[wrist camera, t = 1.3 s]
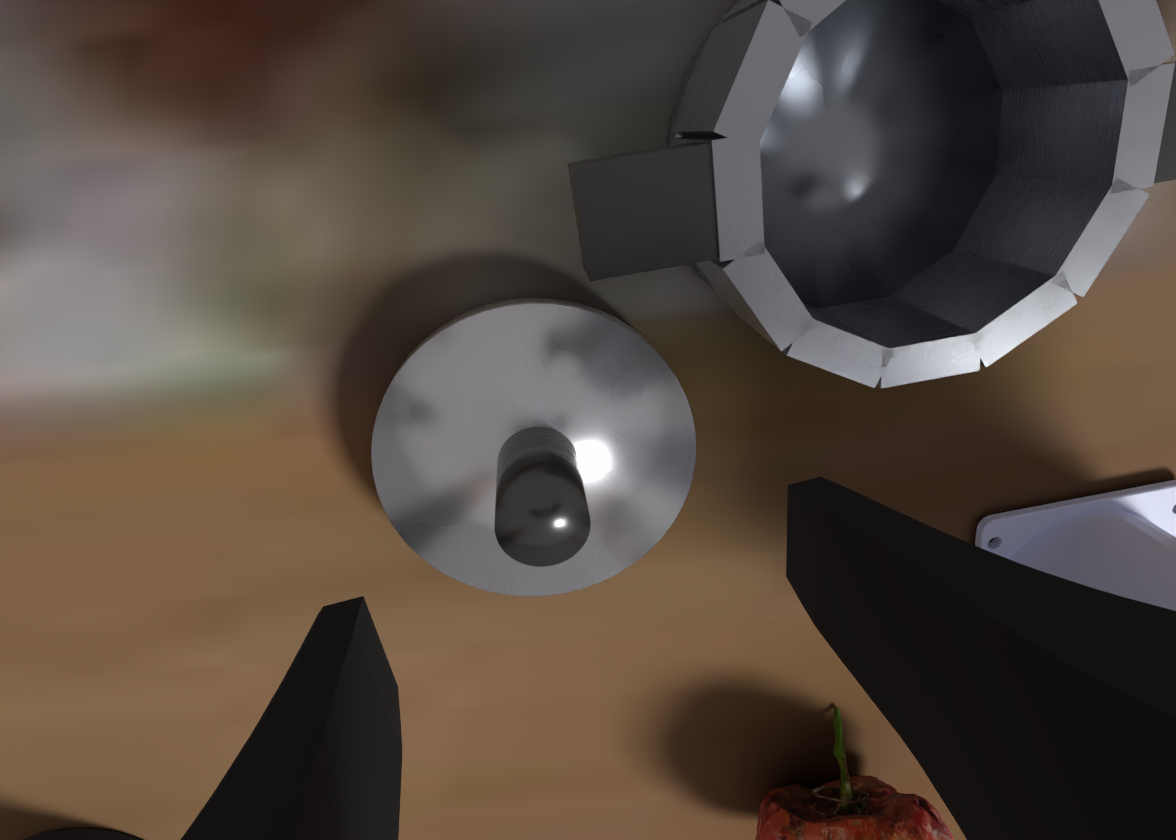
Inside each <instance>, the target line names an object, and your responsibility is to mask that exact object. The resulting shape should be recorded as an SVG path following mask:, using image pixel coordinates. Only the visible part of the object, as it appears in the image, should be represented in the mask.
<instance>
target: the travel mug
mask: <svg viewBox="0 0 1176 840" xmlns="http://www.w3.org/2000/svg"><path fill="white" fill-rule="evenodd" d="M27 840H140V839H138V838H135V837H133V836H130V835H126V834H123V833H119V832H114V831H109V830H102V829H91V828H72V829H62V830H56V831H51V832H46V833H43V834H40V835H37V836H34V837H32V838H29V839H27Z"/></svg>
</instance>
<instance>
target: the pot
mask: <svg viewBox="0 0 1176 840" xmlns="http://www.w3.org/2000/svg"><path fill="white" fill-rule="evenodd" d="M1173 55H1174V51H1173V48H1172V45H1171V42H1170V39H1169V36H1168V33H1167V30H1166V27H1165V24H1164V21H1163V19H1162V16H1161V13H1160V10H1159V7H1158V4H1157V1H1156V0H738V1H737V2H736V3H735V4H734V5H733V6H732V7H731V8H730V9H729V10H728V11H727V12H726V13H725V14H724V16H723V17H722V18H721V19H720V20H719V21H717V24H716V26H715V27H714V28H713V29H712V30H711V32H710V33H709V35H708V36H707V38H706V39H705V41H704V43H703V44H702V46H701V47H700V49H699V51H698V52H697V54H696V56H695V57H694V59H693V61H692V63H691V65H690V68H689V70H688V72H687V74H686V76H685V78H684V81H683V83H682V85H681V88H680V91H679V94H678V97H677V100H676V103H675V106H674V109H673V114H672V119H671V124H670V129H669V134H668V143H667V147H662V148H656V149H650V150H644V151H638V152H632V153H626V154H620V155H614V156H608V157H602V158H596V159H590V160H584V161H578V162H572V163H568V168H569V174H570V181H571V188H572V194H573V201H574V207H575V214H576V220H577V227H578V233H579V240H580V246H581V253H582V260H583V266H584V270H585V272H586V274H587V276H588V278H589V280H590V281H594V280H600V279H605V278H611V277H617V276H623V275H628V274H634V273H640V272H646V271H651V270H657V269H663V268H669V267H674V266H680V265H686V264H692V263H693V264H694V265H695V267H696V268H697V270H698V271H699V273H700V274H701V275H702V276H703V277H704V279H705V280H706V281H707V282H708V283H709V284H710V286H711V287H712V288H713V289H715V290H716V291H717V292H718V293H719V295H720V296H721V298H722V299H723V300H724V302H725V303H726V305H727V306H728V307H729V309H730V310H731V311H732V312H733V313H735V314H736V315H737V316H738V317H739V318H741V319H742V320H743V321H744V322H746V323H747V324H748V325H749V326H751V327H752V328H753V329H754V330H755V331H757V332H758V333H759V334H760V335H762V336H763V337H764V338H765V339H767V340H768V341H769V342H770V343H772V344H773V345H774V346H775V347H776V348H778V349H779V350H780V351H782V352H783V353H784V354H785V355H787V356H789V357H792V358H795V359H797V360H800V361H803V362H805V363H808V364H811V365H814V366H816V367H819V368H822V369H824V370H827V371H830V372H832V373H835V374H838V375H840V376H843V377H846V378H848V379H851V380H854V381H857V382H859V383H862V384H865V385H867V386H870V387H873V388H875V386H878V387H879V388H881V389H882V388H887V387H893V386H898V385H904V384H909V383H915V382H920V381H926V380H931V379H937V378H942V377H948V376H953V375H959V374H964V373H969V372H975V371H979V369H980V365H981V366H983V367H988V366H989V365H991V364H992V363H994V362H995V361H996V360H998V359H999V358H1001V357H1002V356H1003V355H1005V354H1006V353H1008V352H1009V351H1011V350H1012V349H1013V348H1015V347H1016V346H1018V345H1019V344H1020V343H1022V342H1023V341H1025V340H1026V339H1028V338H1029V337H1030V336H1032V335H1033V334H1035V333H1036V332H1037V331H1039V330H1040V329H1042V328H1043V327H1045V326H1046V325H1047V324H1049V323H1050V322H1052V321H1053V320H1054V319H1056V318H1057V317H1059V316H1060V315H1062V314H1063V313H1064V312H1066V311H1067V310H1069V309H1070V308H1071V307H1073V306H1074V305H1076V304H1077V301H1076V299H1075V296H1074V295H1077V296H1081V297H1084V295H1085V294H1086V292H1087V291H1088V289H1089V288H1090V286H1091V285H1092V283H1093V281H1094V280H1095V278H1096V277H1097V275H1098V274H1099V272H1100V271H1101V269H1102V268H1103V266H1104V264H1105V263H1106V261H1107V260H1108V258H1109V257H1110V255H1111V254H1112V252H1113V251H1114V249H1115V247H1116V246H1117V244H1118V243H1119V241H1120V240H1121V238H1122V237H1123V235H1124V234H1125V232H1126V231H1127V229H1128V227H1129V226H1130V224H1131V223H1132V221H1133V220H1134V218H1135V217H1136V215H1137V214H1138V212H1139V210H1140V209H1141V207H1142V206H1143V204H1144V203H1145V201H1146V200H1147V198H1148V197H1149V195H1150V194H1148V193H1146V192H1144V191H1142V190H1140V189H1141V188H1147V187H1153V184H1154V183H1157V182H1163V181H1169V180H1175V179H1176V61H1175V62H1169V63H1164V62H1165V61H1167V60H1168V59H1169V58H1170V57H1172V56H1173Z"/></svg>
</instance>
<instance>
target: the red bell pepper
mask: <svg viewBox="0 0 1176 840" xmlns="http://www.w3.org/2000/svg"><path fill="white" fill-rule="evenodd" d="M834 729H835V733H836V741H835V744H834V751H833V752H834V754H835V757H836V759H837V761H838V763H839V768H840V780H836V781H831V782H829V783H826V784H824V785H822V786H820V787H818V788H814V789H809V788H807V787H805V786H802V785H800V784H795V785H790V786H785V787H780V788H773V789H772V790H770V791H769V792H768V793H767V794H766V795H765V797H764V799H763V800H762V803H761V805H760V810H759V817H758V825H757V836H756V840H954V839H953V837H952V835H951V833H950V831H949V829H948V827H947V825H946V824H945V822H944V821H943V819H942V818H941V816H940V814H939V813H938V811H937V810H936V809H935V808H934V807H933V806H932V805H931V804H930V803H929V802H928V801H927V800H926V799H924V798H922V797H920V796H918V795H916V794H903V793H898V792H897V791H896V789H894V788H893V787H892V786H890V785H888V784H886V783H884V782H882V781H881V780H879V779H877V778H876V777H872V776H860V775H859V776H850V777H849V774H848V770H847V763H846V756H845V748H844V739H843V730H842V721H841V714H840V709H839V708H836V707H834Z"/></svg>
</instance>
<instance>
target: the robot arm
mask: <svg viewBox="0 0 1176 840" xmlns="http://www.w3.org/2000/svg"><path fill="white" fill-rule="evenodd" d="M992 538H994V539H993V540H992V541H991V542H989V541H990V540H991V539H992ZM786 577H787V578H788V580H789V582H790V584H791V585H792V587H793V589H794V591H795V593H796V594H797V596H798V598H799V600H800V601H801V603H802V605H803V607H804V608H805V610H806V611H807V613H808V615H809V616H810V618H811V620H812V621H813V623H814V625H815V626H816V628H817V629H818V630H819V632H820V633H821V634H822V636H823V637H824V638H825V640H826V641H827V642H828V644H829V645H830V646H831V648H832V649H833V650H834V652H835V653H836V654H837V655H838V657H839V658H840V659H841V661H842V662H843V663H844V665H845V666H846V667H847V668H848V670H849V671H850V672H851V674H852V675H853V676H854V677H855V679H856V680H857V681H858V683H859V684H860V685H861V686H862V688H863V689H864V690H865V692H866V693H867V694H868V695H869V697H870V698H871V699H872V701H873V702H874V703H875V704H876V706H877V707H878V708H879V710H880V711H881V712H882V713H883V715H884V716H885V717H886V719H887V720H888V721H889V723H890V724H891V725H892V726H893V728H894V729H895V730H896V732H897V733H898V734H899V735H900V737H901V738H902V740H903V741H904V742H905V744H906V745H907V747H908V748H909V749H910V751H911V752H912V754H913V755H914V756H915V758H916V759H917V761H918V762H919V764H920V765H921V767H922V768H923V770H924V771H925V773H926V775H927V776H928V778H929V779H930V781H931V782H932V784H933V786H934V787H935V789H936V790H937V792H938V793H939V795H940V797H941V798H942V800H943V801H944V803H945V804H946V806H947V808H948V809H949V811H950V812H951V814H952V816H953V817H954V819H955V820H956V822H957V824H958V825H959V827H960V829H961V830H962V832H963V834H964V835H965V837H966V839H967V840H1176V480H1171V481H1166V482H1160V483H1155V484H1150V485H1145V486H1139V487H1134V488H1129V489H1124V490H1118V491H1113V492H1108V493H1103V494H1097V495H1092V496H1087V497H1082V498H1076V499H1071V500H1066V501H1061V502H1055V503H1050V504H1045V505H1040V506H1034V507H1029V508H1024V509H1019V510H1013V511H1008V512H1003V513H998V514H992V515H989V516H986V517H985V518H983V519H982V520H981V521H980V522H979V524H978V526H977V530H976V540H975V546H974V545H972V544H969V543H967V542H965V541H962V540H960V539H958V538H955V537H953V536H951V535H948V534H946V533H944V532H941V531H939V530H937V529H935V528H932V527H930V526H928V525H926V524H923V523H921V522H919V521H917V520H915V519H912V518H910V517H908V516H906V515H904V514H901V513H899V512H897V511H895V510H893V509H891V508H889V507H886V506H884V505H882V504H880V503H878V502H876V501H874V500H871V499H869V498H867V497H865V496H863V495H861V494H859V493H856V492H854V491H852V490H850V489H848V488H846V487H843V486H841V485H839V484H836V483H834V482H832V481H829V480H827V479H824V478H822V477H818V478H814V479H810V480H806V481H802V482H799V483H795V484H791V485H788V510H787V566H786ZM401 768H402V738H401V722H400V709H399V696H398V686H397V683H396V681H395V678H394V675H393V673H392V670H391V667H390V665H389V662H388V660H387V657H386V654H385V652H384V649H383V646H382V644H381V641H380V639H379V636H378V633H377V631H376V628H375V625H374V623H373V620H372V618H371V615H370V612H369V610H368V607H367V605H366V602H365V599H364V597H363V596H362V597H358V598H354V599H350V600H347V601H343V602H339V603H335V604H331V605H327V606H324V607H323V608H322V609H321V611H320V612H319V614H318V615H317V617H316V619H315V621H314V623H313V625H312V627H311V629H310V630H309V632H308V634H307V636H306V638H305V640H304V642H303V644H302V646H301V647H300V649H299V651H298V653H297V655H296V657H295V659H294V661H293V662H292V664H291V666H290V668H289V670H288V671H287V673H286V675H285V677H284V679H283V681H282V682H281V684H280V686H279V688H278V689H277V691H276V693H275V694H274V696H273V698H272V700H271V701H270V703H269V705H268V707H267V708H266V710H265V712H264V713H263V715H262V717H261V719H260V720H259V722H258V724H257V725H256V727H255V729H254V730H253V732H252V734H251V735H250V737H249V739H248V740H247V742H246V743H245V745H244V746H243V748H242V750H241V751H240V753H239V754H238V756H237V757H236V759H235V760H234V762H233V764H232V765H231V767H230V768H229V770H228V771H227V773H226V774H225V776H224V778H223V779H222V781H221V782H220V784H219V785H218V787H217V788H216V790H215V791H214V793H213V794H212V796H211V797H210V799H209V800H208V802H207V803H206V805H205V806H204V808H203V809H202V810H201V812H200V813H199V815H198V816H197V818H196V819H195V820H194V822H193V823H192V825H191V826H190V827H189V829H188V830H187V832H186V833H185V834H184V836H183V837H182V838H181V840H398V833H399V812H400V791H401Z"/></svg>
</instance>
